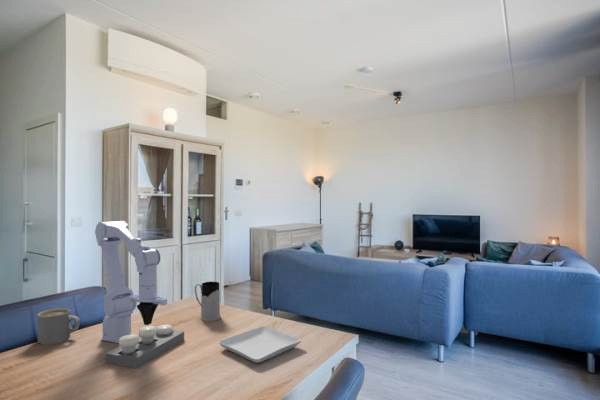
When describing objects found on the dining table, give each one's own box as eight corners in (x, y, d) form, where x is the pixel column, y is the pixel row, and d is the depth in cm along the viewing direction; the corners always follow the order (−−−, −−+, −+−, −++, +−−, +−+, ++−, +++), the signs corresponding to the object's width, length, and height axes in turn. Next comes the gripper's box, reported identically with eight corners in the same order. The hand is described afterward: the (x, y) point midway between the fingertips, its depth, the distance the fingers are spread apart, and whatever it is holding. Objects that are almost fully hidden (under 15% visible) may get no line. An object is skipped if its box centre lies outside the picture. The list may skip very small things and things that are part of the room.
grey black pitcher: (209, 322, 153) (210, 287, 153) (187, 316, 161) (187, 282, 161) (224, 316, 160) (225, 282, 160) (202, 311, 168) (202, 278, 168)
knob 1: (115, 355, 115) (115, 340, 115) (128, 348, 121) (128, 333, 121) (129, 358, 114) (129, 342, 113) (142, 351, 119) (142, 335, 119)
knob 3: (152, 342, 131) (152, 329, 131) (163, 337, 137) (163, 323, 137) (165, 344, 130) (165, 330, 130) (175, 339, 135) (175, 325, 135)
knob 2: (135, 345, 123) (135, 330, 123) (147, 339, 129) (147, 325, 129) (148, 347, 122) (148, 332, 122) (160, 341, 127) (160, 327, 127)
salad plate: (216, 350, 126) (216, 340, 126) (263, 333, 142) (263, 324, 142) (256, 370, 112) (256, 359, 112) (303, 349, 127) (303, 339, 127)
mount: (105, 362, 116) (105, 353, 116) (157, 335, 138) (157, 327, 138) (135, 368, 112) (135, 358, 112) (184, 339, 135) (184, 331, 135)
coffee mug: (30, 344, 130) (30, 316, 130) (50, 333, 140) (50, 307, 140) (67, 344, 129) (67, 316, 129) (84, 334, 139) (84, 308, 139)
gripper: (172, 283, 126) (172, 322, 126) (139, 280, 131) (139, 317, 131) (158, 288, 120) (159, 329, 120) (124, 284, 124) (124, 324, 124)
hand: (147, 324), depth 125 cm, fingers closed
